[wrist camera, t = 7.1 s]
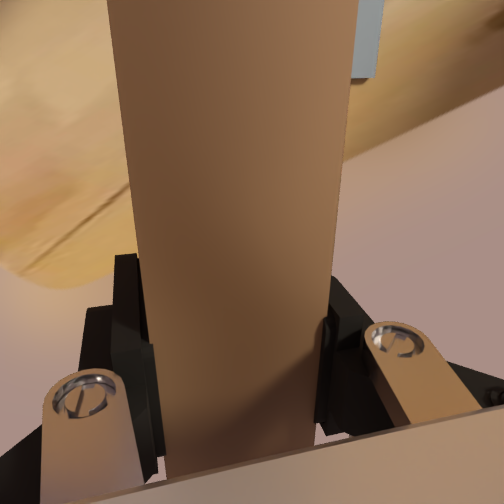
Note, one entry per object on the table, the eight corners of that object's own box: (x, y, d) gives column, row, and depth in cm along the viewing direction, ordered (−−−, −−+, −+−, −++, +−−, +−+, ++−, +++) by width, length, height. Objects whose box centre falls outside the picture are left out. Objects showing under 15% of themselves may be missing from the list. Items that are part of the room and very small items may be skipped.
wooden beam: (273, -257, 8) (412, -530, 4) (258, 500, 18) (295, 630, 14) (78, -290, 7) (23, -665, 3) (175, 521, 17) (190, 664, 13)
